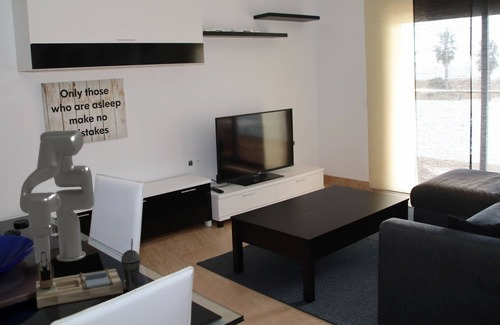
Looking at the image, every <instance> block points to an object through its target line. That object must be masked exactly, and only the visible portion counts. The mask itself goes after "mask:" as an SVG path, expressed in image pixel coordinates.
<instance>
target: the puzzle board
mask: <svg viewBox="0 0 500 325" xmlns="http://www.w3.org/2000/svg"><path fill="white" fill-rule="evenodd" d="M104 271H106V272H107V275H108V278H109V280H110V285H105V286H99V287H93V288H87V287H86V283H85V275H86V274H92V273H98V272H104ZM52 280H53V286H51V287H45V288H40V283H39V280H37V281H35V284H36V286H35V287H36V303H37V304H36V305H37V309H41V308H43V307H48V306H55V305H61V304H66V303H71V302H77V301H83V300H88V299H93V298H100V297H105V296H106V297H107V296H110V295H111V296H112V295H116V294H122V293H123V292H124V288H123V283H122V280H121V278H120V276H119V273H118V272H117V269H116V268H113V269H108V268H105V269H104V270H99V271H92V272H87V273H83V272H80V273H79V274H75V275H67V276H62V277H55V278H52Z"/></svg>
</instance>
